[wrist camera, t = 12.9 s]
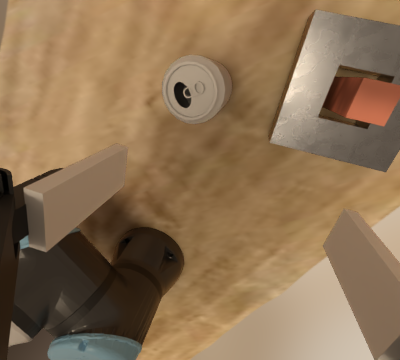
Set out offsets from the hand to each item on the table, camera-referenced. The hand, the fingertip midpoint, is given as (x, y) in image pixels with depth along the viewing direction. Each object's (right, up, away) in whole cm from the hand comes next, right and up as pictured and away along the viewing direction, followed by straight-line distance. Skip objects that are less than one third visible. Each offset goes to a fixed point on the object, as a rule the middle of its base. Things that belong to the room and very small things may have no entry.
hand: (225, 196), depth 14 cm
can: (0, +15, +22) cm, 27 cm away
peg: (+18, +13, +19) cm, 29 cm away
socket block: (+18, +13, +19) cm, 29 cm away
